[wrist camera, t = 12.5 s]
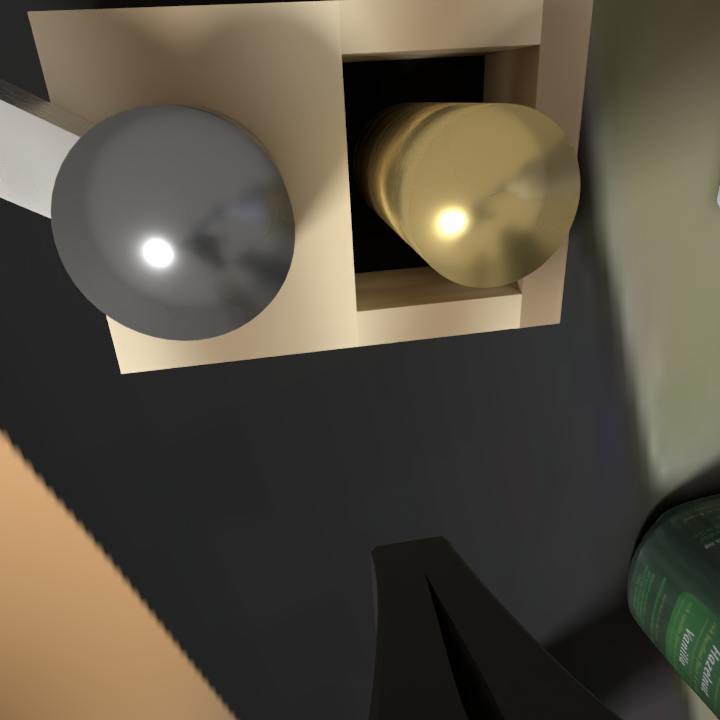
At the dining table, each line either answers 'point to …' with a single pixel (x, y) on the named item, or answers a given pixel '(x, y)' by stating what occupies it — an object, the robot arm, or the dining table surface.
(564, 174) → the brass pin
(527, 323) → the birch block
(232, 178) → the copper tipped joystick
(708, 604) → the coffee jar
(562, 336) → the dining table surface
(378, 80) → the dining table surface
